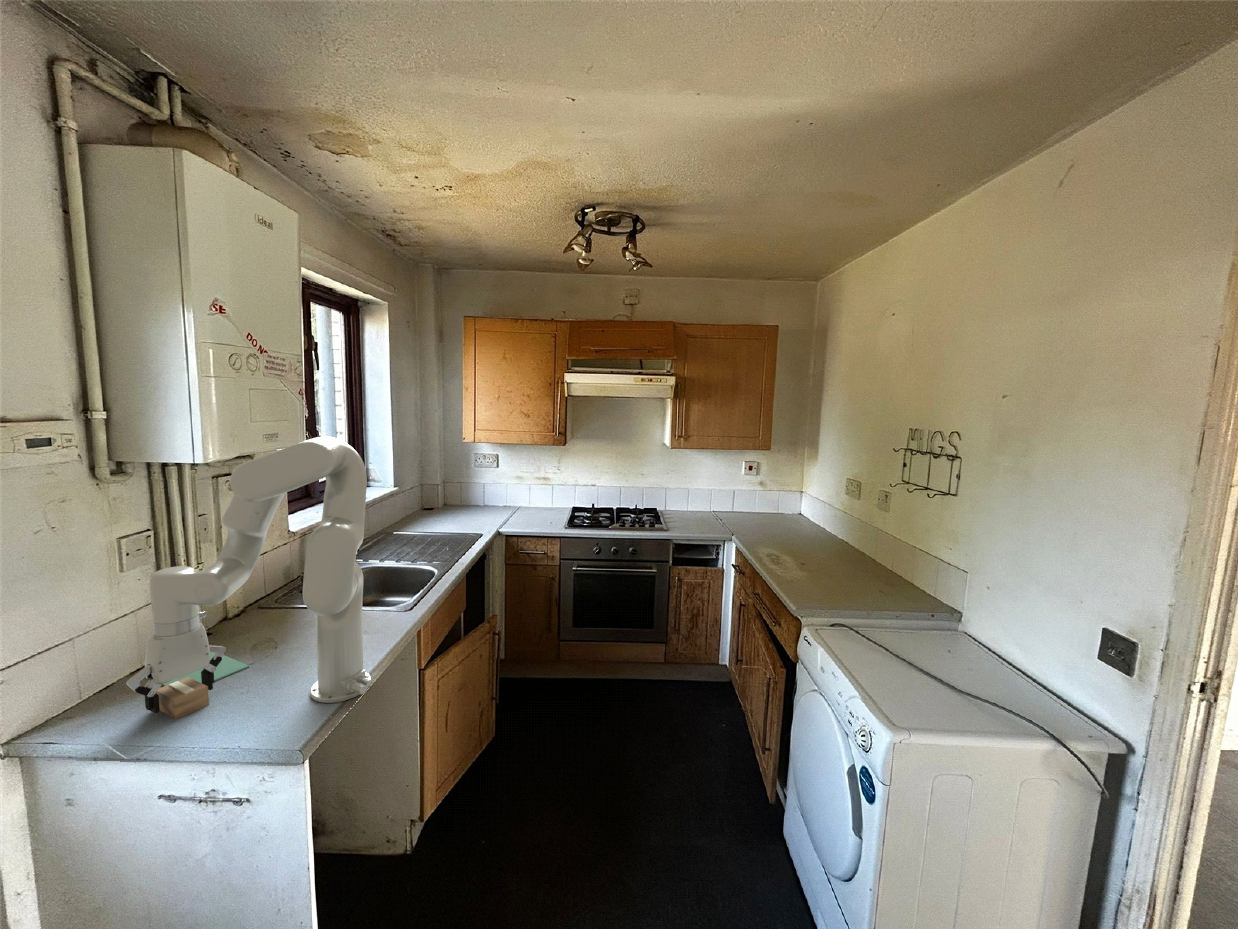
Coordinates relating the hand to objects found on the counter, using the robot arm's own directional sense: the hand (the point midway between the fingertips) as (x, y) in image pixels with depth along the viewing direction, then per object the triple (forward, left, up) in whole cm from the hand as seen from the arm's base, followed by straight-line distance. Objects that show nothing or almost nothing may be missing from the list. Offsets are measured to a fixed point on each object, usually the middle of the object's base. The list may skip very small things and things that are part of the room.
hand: (181, 699), depth 110 cm
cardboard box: (0, 0, -2) cm, 2 cm away
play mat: (+13, -9, -2) cm, 16 cm away
